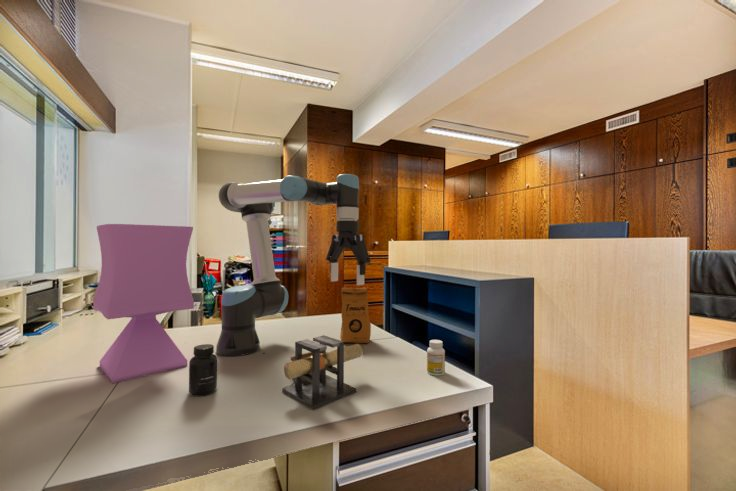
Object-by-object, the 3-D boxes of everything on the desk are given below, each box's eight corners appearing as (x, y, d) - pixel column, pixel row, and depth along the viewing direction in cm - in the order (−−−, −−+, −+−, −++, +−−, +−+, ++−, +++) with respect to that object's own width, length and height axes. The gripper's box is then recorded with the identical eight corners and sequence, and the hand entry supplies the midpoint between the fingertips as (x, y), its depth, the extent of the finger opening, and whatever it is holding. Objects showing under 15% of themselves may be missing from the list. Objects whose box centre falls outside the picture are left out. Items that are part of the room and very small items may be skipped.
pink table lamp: (193, 365, 109) (194, 226, 109) (107, 386, 93) (108, 223, 93) (170, 350, 125) (171, 228, 125) (93, 366, 108) (93, 226, 108)
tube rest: (290, 376, 100) (290, 356, 100) (312, 370, 106) (312, 350, 106) (302, 383, 96) (303, 362, 96) (325, 375, 101) (325, 355, 101)
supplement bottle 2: (433, 368, 108) (433, 337, 108) (448, 372, 104) (448, 341, 104) (423, 372, 104) (423, 341, 104) (438, 377, 101) (438, 345, 101)
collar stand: (282, 391, 90) (282, 341, 90) (324, 377, 100) (324, 332, 100) (313, 410, 80) (313, 353, 80) (356, 392, 90) (356, 342, 90)
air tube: (294, 378, 83) (290, 360, 84) (286, 381, 85) (282, 364, 87) (364, 355, 100) (360, 341, 101) (355, 359, 102) (351, 345, 104)
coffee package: (370, 345, 132) (370, 289, 132) (338, 344, 133) (339, 288, 133) (371, 338, 142) (371, 286, 142) (341, 337, 143) (342, 285, 143)
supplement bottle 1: (205, 398, 86) (206, 351, 86) (182, 395, 88) (182, 349, 88) (222, 387, 93) (222, 343, 93) (200, 384, 94) (201, 342, 94)
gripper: (381, 219, 109) (381, 285, 109) (333, 222, 126) (332, 279, 127) (364, 218, 103) (364, 287, 103) (317, 221, 121) (316, 280, 121)
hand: (346, 283), depth 115 cm, fingers open, 13 cm apart
